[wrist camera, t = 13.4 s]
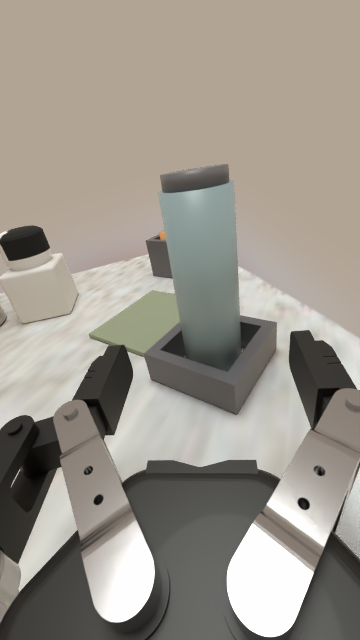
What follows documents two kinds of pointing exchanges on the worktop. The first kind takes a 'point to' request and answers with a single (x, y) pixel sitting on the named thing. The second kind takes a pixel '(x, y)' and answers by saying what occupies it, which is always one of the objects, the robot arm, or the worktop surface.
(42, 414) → the worktop surface
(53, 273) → the medicine bottle
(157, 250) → the gray square socket block
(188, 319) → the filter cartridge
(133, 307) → the rubber mat
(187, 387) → the cartridge socket
